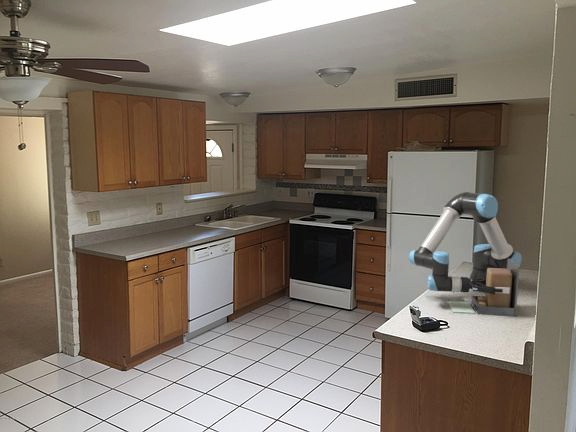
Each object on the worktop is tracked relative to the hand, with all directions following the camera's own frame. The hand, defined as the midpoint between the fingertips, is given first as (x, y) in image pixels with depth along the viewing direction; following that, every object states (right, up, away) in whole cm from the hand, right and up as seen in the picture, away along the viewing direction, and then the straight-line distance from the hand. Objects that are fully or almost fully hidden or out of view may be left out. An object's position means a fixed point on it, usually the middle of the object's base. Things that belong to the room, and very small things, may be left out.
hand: (505, 286), depth 244 cm
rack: (-5, -12, +3) cm, 13 cm away
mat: (-20, -11, +5) cm, 24 cm away
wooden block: (-3, -12, +2) cm, 13 cm away
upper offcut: (-10, -10, +3) cm, 14 cm away
